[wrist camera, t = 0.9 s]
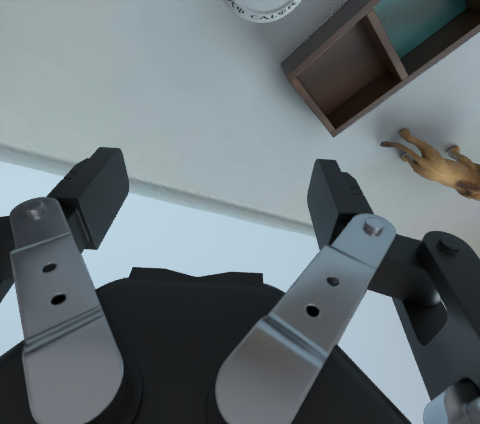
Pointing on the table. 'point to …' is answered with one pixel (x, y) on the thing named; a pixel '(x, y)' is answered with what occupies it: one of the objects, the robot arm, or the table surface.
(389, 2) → the wooden divided box
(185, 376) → the robot arm
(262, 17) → the energy drink can
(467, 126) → the table surface
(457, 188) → the lion figurine
